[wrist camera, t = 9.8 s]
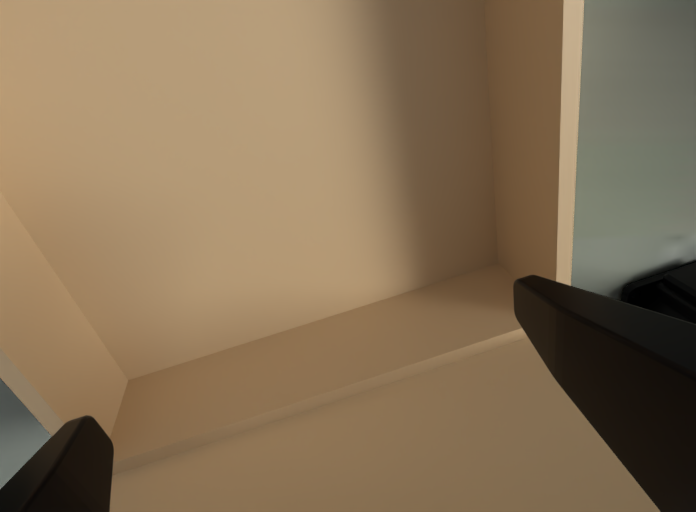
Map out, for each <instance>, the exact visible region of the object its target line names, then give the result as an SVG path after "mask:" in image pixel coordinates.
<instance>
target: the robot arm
mask: <svg viewBox="0 0 696 512" xmlns="http://www.w3.org/2000/svg"><path fill="white" fill-rule="evenodd" d="M513 298H514V313H515V316H516V319H517V321H518V322H519V324H520V325H521V327H522V329H523V330H524V332H525V333H526V335H527V336H528V338H529V340H530V341H531V343H532V344H533V346H534V348H535V349H536V351H537V352H538V354H539V355H540V357H541V359H542V360H543V362H544V363H545V365H546V366H547V368H548V370H549V371H550V373H551V374H552V376H553V377H554V378H555V380H556V381H557V382H558V384H559V385H560V386H561V388H562V389H563V390H564V391H565V393H566V394H567V395H568V396H569V398H570V399H571V400H572V401H573V403H574V404H575V405H576V406H577V408H578V409H579V410H580V411H581V413H582V414H583V415H584V416H585V418H586V419H587V420H588V421H589V423H590V424H591V425H592V426H593V428H594V429H595V430H596V431H597V433H598V434H599V435H600V437H601V438H602V439H603V440H604V442H605V443H606V444H607V445H608V447H609V448H610V449H611V450H612V452H613V453H614V454H615V455H616V457H617V458H618V459H619V460H620V462H621V463H622V464H623V465H624V467H625V468H626V469H627V470H628V472H629V473H630V474H631V475H632V477H633V478H634V479H635V480H636V482H637V483H638V484H639V485H640V487H641V488H642V489H643V490H644V492H645V493H646V494H647V495H648V497H649V498H650V499H651V500H652V502H653V503H654V504H655V505H656V507H657V508H658V509H659V510H660V512H696V262H695V263H692V264H689V265H686V266H683V267H680V268H677V269H674V270H671V271H668V272H665V273H662V274H659V275H656V276H652V277H649V278H646V279H643V280H640V281H637V282H634V283H631V284H629V285H628V286H626V287H625V289H624V290H623V292H622V299H621V301H618V300H615V299H612V298H609V297H605V296H602V295H599V294H596V293H592V292H589V291H586V290H583V289H580V288H576V287H573V286H570V285H567V284H563V283H560V282H557V281H554V280H550V279H547V278H544V277H541V276H537V275H528V276H525V277H522V278H518V279H516V280H515V281H514V284H513ZM113 458H114V447H113V443H112V441H111V439H110V437H109V436H108V435H107V434H106V432H105V431H104V430H103V428H102V427H101V426H100V425H99V423H98V422H97V421H96V419H95V418H94V417H92V416H90V415H85V416H82V417H79V418H76V419H72V420H70V421H68V422H66V423H65V424H64V425H63V426H62V427H61V428H60V429H59V430H58V431H57V432H56V433H55V434H54V435H53V436H52V437H51V438H50V439H49V440H48V441H47V442H46V443H45V444H44V445H43V446H42V447H41V448H40V449H39V450H38V451H37V453H36V454H35V455H34V456H33V457H32V458H31V459H30V460H29V461H28V462H27V463H26V464H25V465H24V466H23V467H22V468H21V469H20V470H19V471H18V472H17V473H16V474H15V475H14V476H13V477H12V478H11V479H10V480H9V481H8V482H7V483H6V484H5V485H4V486H3V487H2V488H1V489H0V512H110V499H111V485H112V472H113Z"/></svg>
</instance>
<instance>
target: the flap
mask: <svg viewBox="0 0 696 512" xmlns="http://www.w3.org/2000/svg"><path fill="white" fill-rule="evenodd" d="M110 512H660V510H659V509H658V508H657V507H656V505H655V504H654V503H653V502H652V500H651V499H650V498H649V497H648V495H647V494H646V493H645V492H644V490H643V489H642V488H641V487H640V485H639V484H638V483H637V482H636V480H635V479H634V478H633V477H632V475H631V474H630V473H629V472H628V470H627V469H626V468H625V467H624V465H623V464H622V463H621V462H620V460H619V459H618V458H617V457H616V455H615V454H614V453H613V452H612V450H611V449H610V448H609V447H608V445H607V444H606V443H605V442H604V440H603V439H602V438H601V437H600V435H599V434H598V433H597V431H596V430H595V429H594V428H593V426H592V425H591V424H590V423H589V421H588V420H587V419H586V418H585V416H584V415H583V414H582V413H581V411H580V410H579V409H578V408H577V406H576V405H575V404H574V403H573V401H572V400H571V399H570V398H569V396H568V395H567V394H566V393H565V391H564V390H563V389H562V388H561V386H560V385H559V384H558V382H557V381H556V380H555V378H554V377H553V376H552V374H551V373H550V371H549V370H548V368H547V366H546V365H545V363H544V362H543V360H542V359H541V357H540V355H539V354H538V352H537V351H536V349H535V348H534V346H533V344H532V343H531V341H530V340H529V338H526V339H523V340H519V341H516V342H513V343H510V344H507V345H504V346H501V347H498V348H495V349H492V350H489V351H486V352H483V353H480V354H477V355H474V356H471V357H468V358H465V359H462V360H459V361H456V362H453V363H450V364H447V365H444V366H441V367H438V368H435V369H432V370H429V371H426V372H423V373H420V374H417V375H414V376H411V377H408V378H405V379H402V380H399V381H396V382H393V383H390V384H387V385H384V386H381V387H378V388H375V389H372V390H369V391H366V392H363V393H360V394H357V395H354V396H351V397H348V398H345V399H342V400H339V401H336V402H333V403H330V404H327V405H323V406H320V407H317V408H314V409H311V410H308V411H305V412H302V413H299V414H296V415H293V416H290V417H287V418H284V419H281V420H278V421H275V422H272V423H269V424H266V425H263V426H260V427H257V428H254V429H251V430H248V431H245V432H242V433H239V434H236V435H233V436H230V437H227V438H224V439H221V440H218V441H215V442H212V443H209V444H206V445H203V446H200V447H197V448H194V449H191V450H188V451H185V452H182V453H179V454H176V455H173V456H170V457H167V458H164V459H161V460H158V461H155V462H152V463H149V464H146V465H143V466H140V467H137V468H134V469H130V470H127V471H124V472H121V473H118V474H115V475H112V485H111V499H110Z"/></svg>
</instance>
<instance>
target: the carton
mask: <svg viewBox="0 0 696 512" xmlns="http://www.w3.org/2000/svg"><path fill="white" fill-rule="evenodd" d="M583 15H584V0H0V378H1V379H2V380H3V381H4V383H5V384H6V385H7V386H8V387H9V388H10V389H11V390H12V392H13V393H14V394H15V395H16V396H17V397H18V398H19V399H20V401H21V402H22V403H23V404H24V405H25V406H26V407H27V408H28V410H29V411H30V412H31V413H32V414H33V415H34V416H35V417H36V419H37V420H38V421H39V422H40V423H41V424H42V425H43V426H44V428H45V429H46V430H47V431H48V432H49V433H50V434H51V436H53V435H54V434H55V433H56V432H57V431H58V430H59V429H60V428H61V427H62V426H63V425H64V424H65V423H66V422H68V421H70V420H72V419H76V418H79V417H82V416H85V415H90V416H92V417H94V418H95V419H96V421H97V422H98V423H99V425H100V426H101V427H102V428H103V430H104V431H105V432H106V434H107V435H108V436H109V437H110V439H111V441H112V443H113V447H114V458H113V472H112V475H115V474H118V473H121V472H124V471H127V470H130V469H134V468H137V467H140V466H143V465H146V464H149V463H152V462H155V461H158V460H161V459H164V458H167V457H170V456H173V455H176V454H179V453H182V452H185V451H188V450H191V449H194V448H197V447H200V446H203V445H206V444H209V443H212V442H215V441H218V440H221V439H224V438H227V437H230V436H233V435H236V434H239V433H242V432H245V431H248V430H251V429H254V428H257V427H260V426H263V425H266V424H269V423H272V422H275V421H278V420H281V419H284V418H287V417H290V416H293V415H296V414H299V413H302V412H305V411H308V410H311V409H314V408H317V407H320V406H323V405H327V404H330V403H333V402H336V401H339V400H342V399H345V398H348V397H351V396H354V395H357V394H360V393H363V392H366V391H369V390H372V389H375V388H378V387H381V386H384V385H387V384H390V383H393V382H396V381H399V380H402V379H405V378H408V377H411V376H414V375H417V374H420V373H423V372H426V371H429V370H432V369H435V368H438V367H441V366H444V365H447V364H450V363H453V362H456V361H459V360H462V359H465V358H468V357H471V356H474V355H477V354H480V353H483V352H486V351H489V350H492V349H495V348H498V347H501V346H504V345H507V344H510V343H513V342H516V341H519V340H523V339H526V338H528V336H527V335H526V333H525V332H524V330H523V329H522V327H521V325H520V324H519V322H518V321H517V319H516V316H515V313H514V298H513V284H514V281H515V280H516V279H518V278H522V277H525V276H528V275H537V276H541V277H544V278H547V279H550V280H554V281H557V282H560V283H563V284H567V285H570V286H571V269H572V248H573V227H574V206H575V184H576V163H577V142H578V121H579V100H580V79H581V58H582V37H583Z"/></svg>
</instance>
